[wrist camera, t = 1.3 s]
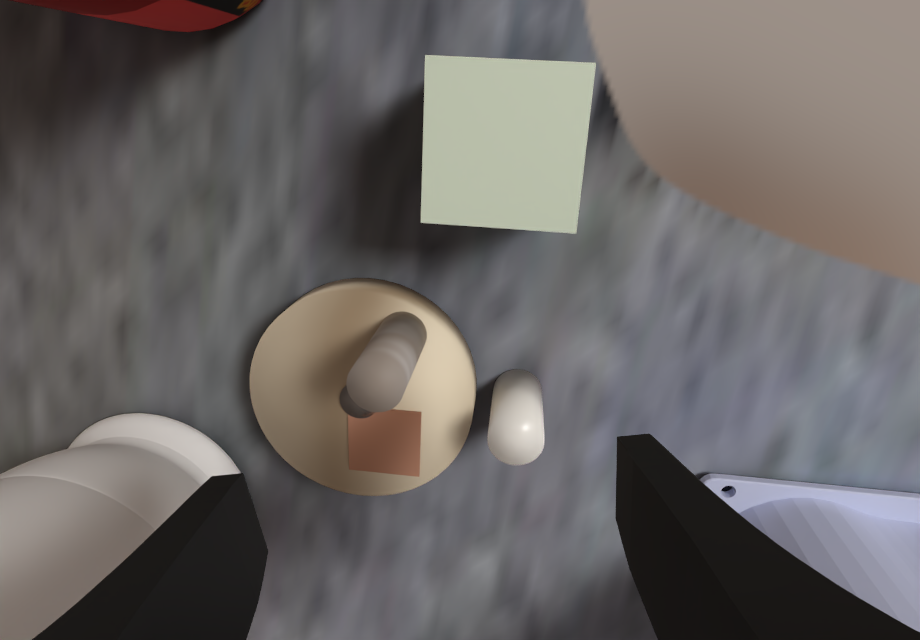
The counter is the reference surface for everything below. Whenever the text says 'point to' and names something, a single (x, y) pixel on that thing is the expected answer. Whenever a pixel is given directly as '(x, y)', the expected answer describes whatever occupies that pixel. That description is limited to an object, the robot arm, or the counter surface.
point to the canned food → (156, 11)
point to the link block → (504, 142)
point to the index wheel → (364, 387)
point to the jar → (92, 511)
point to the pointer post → (516, 418)
